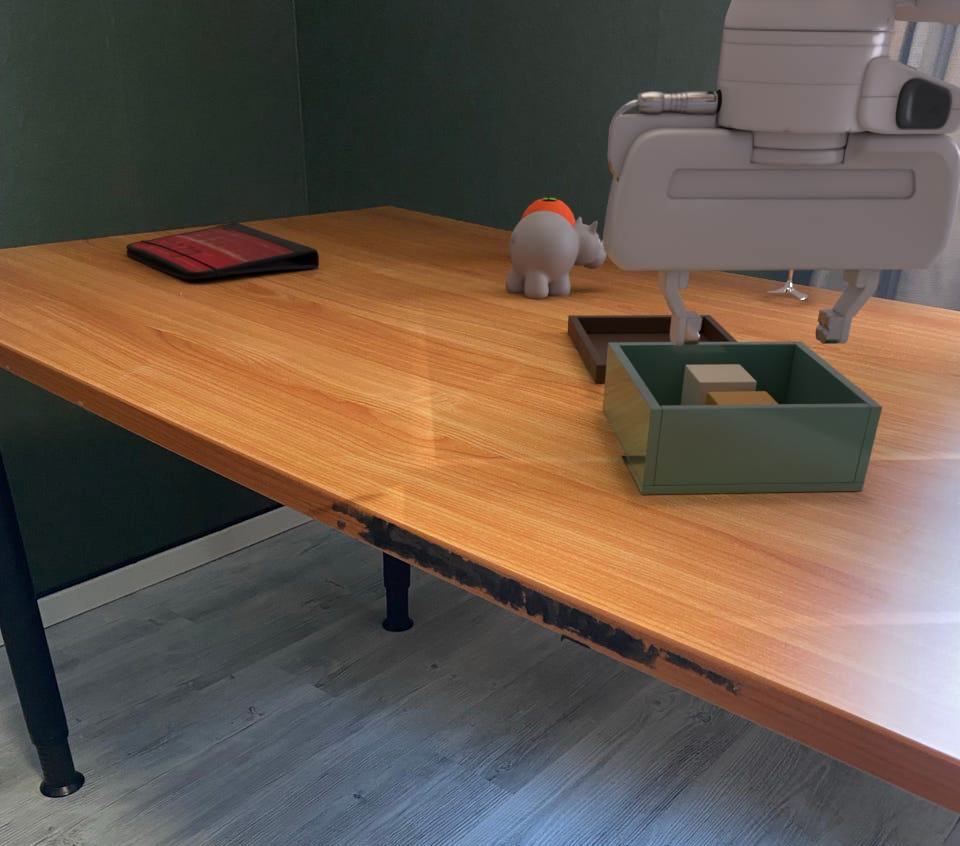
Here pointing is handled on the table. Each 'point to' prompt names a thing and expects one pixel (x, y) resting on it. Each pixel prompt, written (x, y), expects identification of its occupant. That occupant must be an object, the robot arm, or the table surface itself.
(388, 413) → the table surface
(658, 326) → the shallow brown tray
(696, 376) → the cream block
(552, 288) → the chubby cartoon animal
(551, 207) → the clementine
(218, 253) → the binder
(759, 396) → the mustard block
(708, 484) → the green storage bin
